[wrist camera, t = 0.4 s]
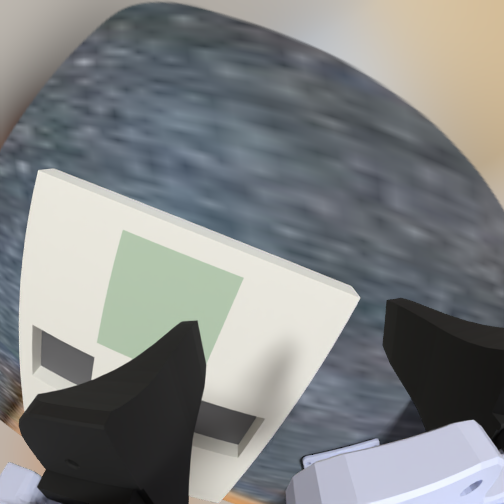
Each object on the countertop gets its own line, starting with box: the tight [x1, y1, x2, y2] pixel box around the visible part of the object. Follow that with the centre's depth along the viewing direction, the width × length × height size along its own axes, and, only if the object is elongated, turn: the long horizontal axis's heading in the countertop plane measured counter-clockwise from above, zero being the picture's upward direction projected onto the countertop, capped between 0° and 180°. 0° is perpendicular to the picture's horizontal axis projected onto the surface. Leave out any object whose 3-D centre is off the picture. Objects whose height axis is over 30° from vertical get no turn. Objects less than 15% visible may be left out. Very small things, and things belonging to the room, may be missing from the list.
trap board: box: [19, 169, 360, 503], centre depth 23 cm, size 28×23×2 cm
